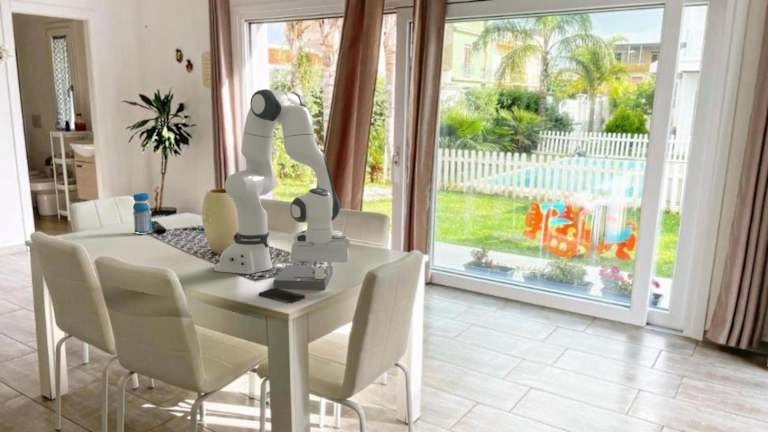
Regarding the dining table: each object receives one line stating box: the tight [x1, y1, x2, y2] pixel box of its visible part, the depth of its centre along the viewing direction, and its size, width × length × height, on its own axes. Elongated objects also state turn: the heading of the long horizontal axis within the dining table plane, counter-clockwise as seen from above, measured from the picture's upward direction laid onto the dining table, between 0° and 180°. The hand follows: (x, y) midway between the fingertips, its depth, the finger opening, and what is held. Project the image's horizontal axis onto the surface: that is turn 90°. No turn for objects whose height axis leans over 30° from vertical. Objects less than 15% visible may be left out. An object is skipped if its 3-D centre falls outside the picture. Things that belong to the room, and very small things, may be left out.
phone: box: [258, 287, 306, 304], centre depth 192 cm, size 8×1×15 cm
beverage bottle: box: [132, 192, 153, 233], centre depth 286 cm, size 8×8×20 cm
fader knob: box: [315, 263, 327, 279], centre depth 203 cm, size 3×5×4 cm, turn 177°
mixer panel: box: [273, 264, 334, 291], centre depth 210 cm, size 18×20×3 cm
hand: (320, 273), depth 203 cm, fingers closed on fader knob, 3 cm apart
